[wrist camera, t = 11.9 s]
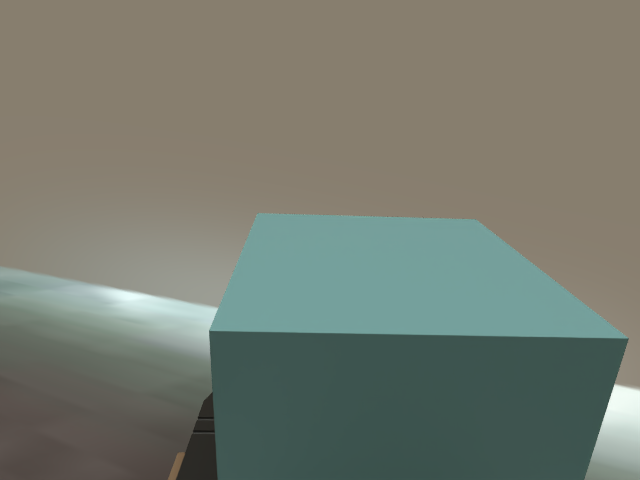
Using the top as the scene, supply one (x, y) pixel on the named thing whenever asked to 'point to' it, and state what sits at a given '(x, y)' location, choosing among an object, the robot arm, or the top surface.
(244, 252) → the block
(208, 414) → the robot arm
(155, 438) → the top surface
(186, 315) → the top surface
